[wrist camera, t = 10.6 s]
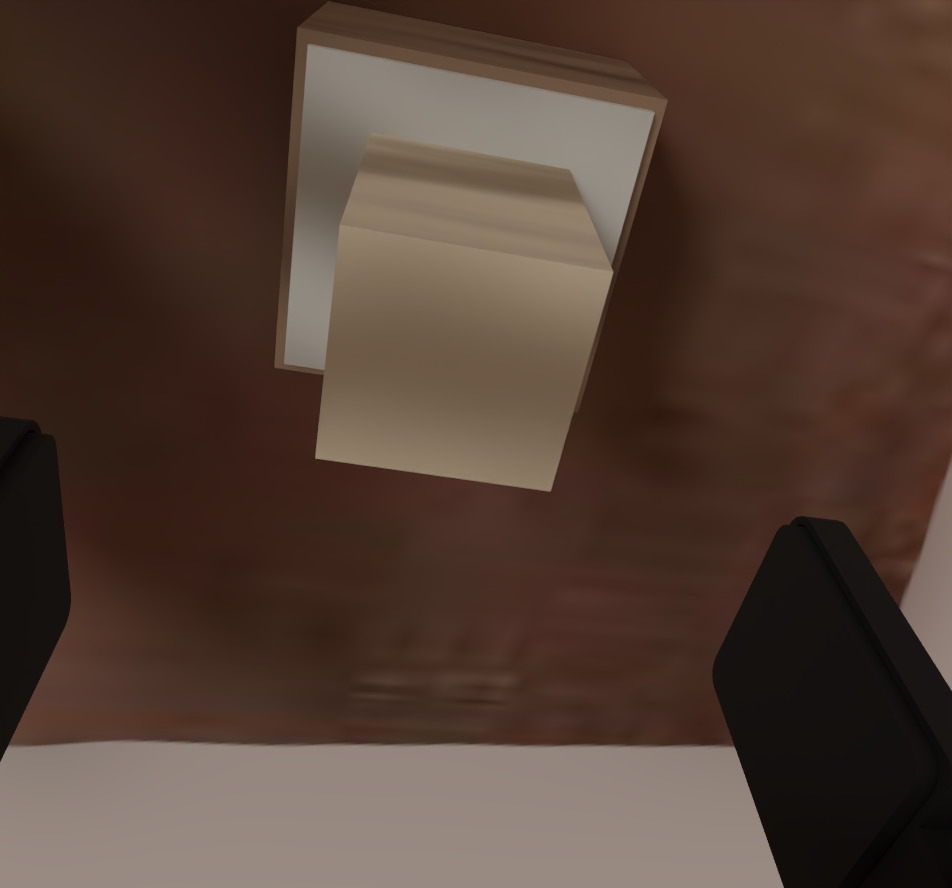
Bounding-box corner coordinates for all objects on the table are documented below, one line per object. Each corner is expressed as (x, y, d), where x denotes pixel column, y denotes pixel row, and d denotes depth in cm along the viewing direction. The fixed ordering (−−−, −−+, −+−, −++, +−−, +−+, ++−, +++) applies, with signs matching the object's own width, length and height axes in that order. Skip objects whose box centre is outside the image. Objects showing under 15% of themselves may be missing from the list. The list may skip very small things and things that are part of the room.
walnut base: (328, 1, 25) (295, 28, 20) (626, 60, 26) (670, 102, 21) (304, 287, 30) (272, 371, 25) (557, 328, 31) (579, 417, 26)
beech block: (371, 132, 21) (339, 224, 15) (569, 169, 22) (613, 272, 16) (349, 318, 24) (315, 458, 18) (526, 346, 24) (550, 491, 18)
